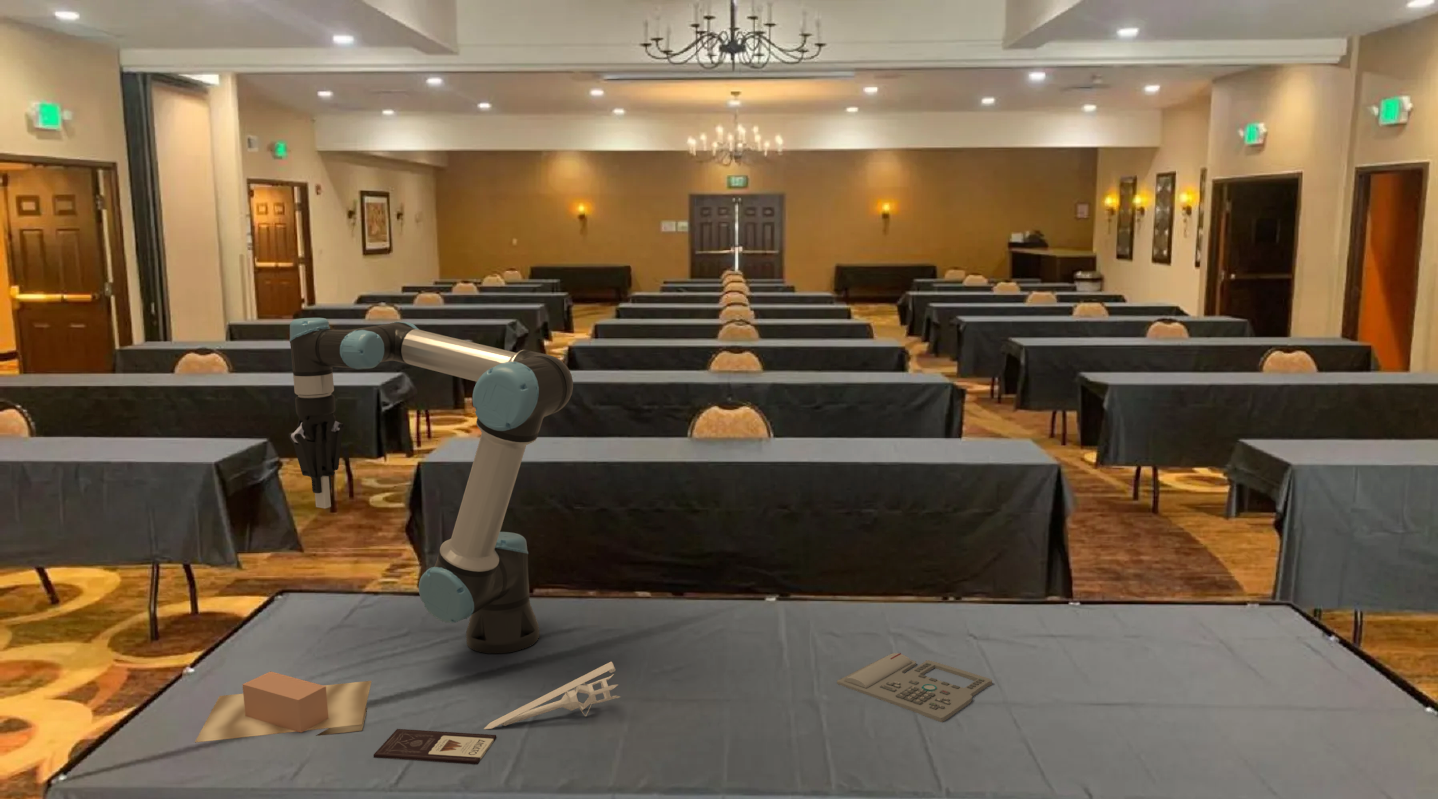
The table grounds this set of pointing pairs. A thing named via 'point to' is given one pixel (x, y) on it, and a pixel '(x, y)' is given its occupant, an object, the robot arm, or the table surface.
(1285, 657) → the table surface
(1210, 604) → the table surface
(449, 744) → the chocolate bar
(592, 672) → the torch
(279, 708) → the terracotta block
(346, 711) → the birch board
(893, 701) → the office telephone
